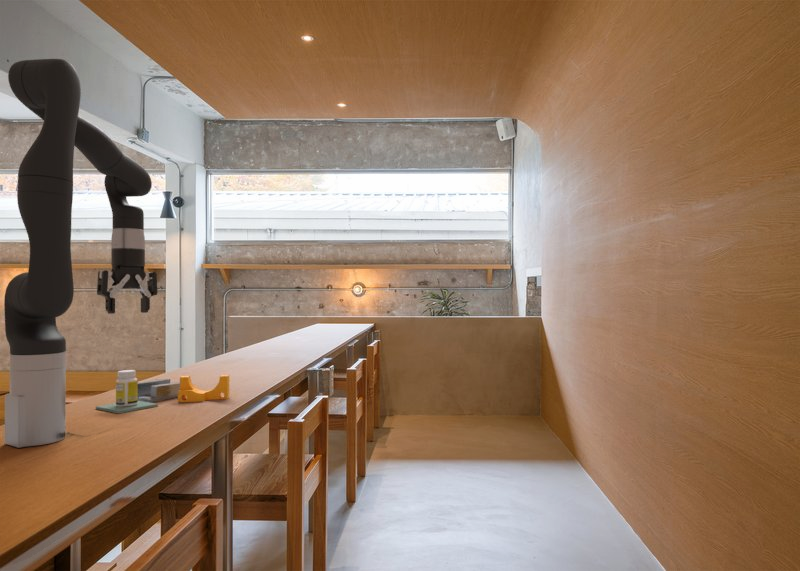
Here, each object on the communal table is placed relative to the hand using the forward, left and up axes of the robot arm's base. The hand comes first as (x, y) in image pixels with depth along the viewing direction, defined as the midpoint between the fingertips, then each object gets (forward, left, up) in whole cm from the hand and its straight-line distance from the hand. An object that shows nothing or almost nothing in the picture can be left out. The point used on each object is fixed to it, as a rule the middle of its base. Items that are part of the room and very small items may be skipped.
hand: (128, 313), depth 138 cm
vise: (+12, +5, -23) cm, 27 cm away
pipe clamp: (+15, -10, -24) cm, 30 cm away
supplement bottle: (-1, -1, -23) cm, 23 cm away
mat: (-1, -1, -23) cm, 23 cm away
